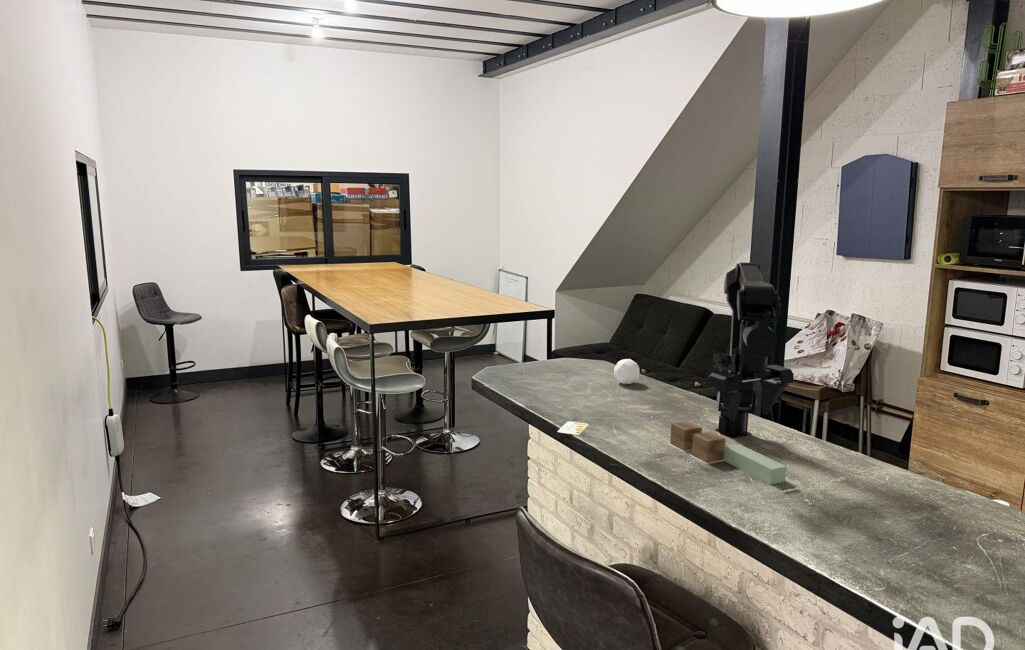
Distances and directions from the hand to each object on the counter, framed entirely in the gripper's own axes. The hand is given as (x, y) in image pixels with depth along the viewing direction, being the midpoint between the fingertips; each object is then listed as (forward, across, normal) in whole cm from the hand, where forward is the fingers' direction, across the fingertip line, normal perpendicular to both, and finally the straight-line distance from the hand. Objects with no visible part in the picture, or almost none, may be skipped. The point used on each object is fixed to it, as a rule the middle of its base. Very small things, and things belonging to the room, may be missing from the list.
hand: (748, 416), depth 148 cm
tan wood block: (+12, +3, -9) cm, 15 cm away
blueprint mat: (+12, +3, -13) cm, 18 cm away
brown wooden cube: (+12, +2, -17) cm, 21 cm away
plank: (+13, -1, +1) cm, 13 cm away
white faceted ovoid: (+12, -18, -71) cm, 75 cm away
